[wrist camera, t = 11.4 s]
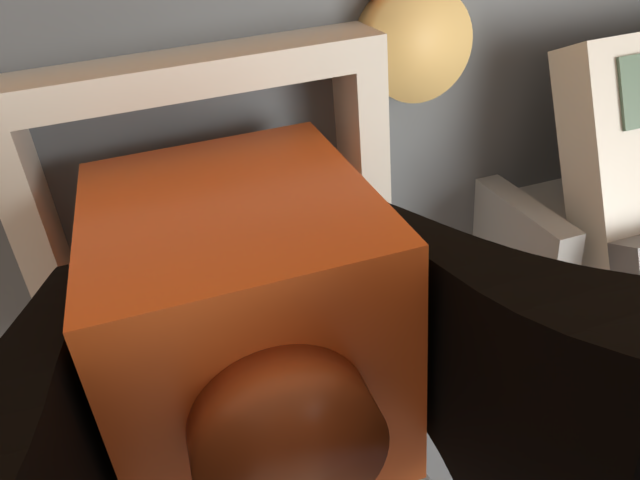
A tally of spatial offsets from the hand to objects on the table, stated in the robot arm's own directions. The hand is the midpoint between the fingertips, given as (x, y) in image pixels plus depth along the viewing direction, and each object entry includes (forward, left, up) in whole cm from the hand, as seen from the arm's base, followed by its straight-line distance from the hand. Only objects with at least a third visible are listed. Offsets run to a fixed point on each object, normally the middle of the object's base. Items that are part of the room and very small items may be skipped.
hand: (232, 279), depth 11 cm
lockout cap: (0, 0, -2) cm, 2 cm away
